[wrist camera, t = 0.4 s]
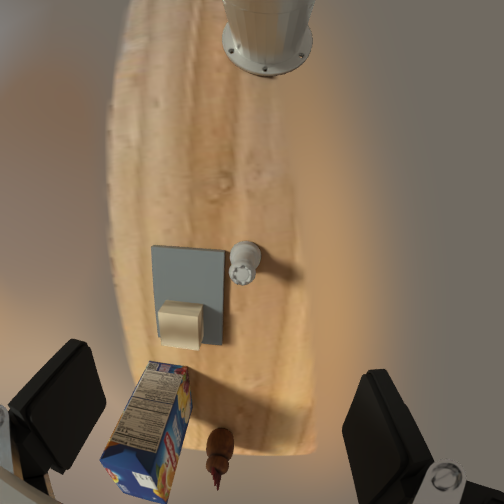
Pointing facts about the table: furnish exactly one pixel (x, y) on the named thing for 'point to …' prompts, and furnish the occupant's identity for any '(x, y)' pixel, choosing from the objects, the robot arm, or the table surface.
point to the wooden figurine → (219, 453)
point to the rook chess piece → (244, 262)
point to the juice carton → (151, 433)
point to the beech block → (181, 324)
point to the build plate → (191, 283)
